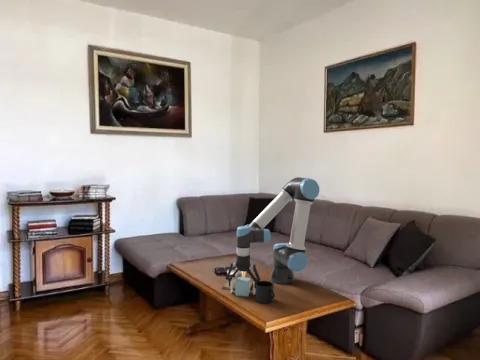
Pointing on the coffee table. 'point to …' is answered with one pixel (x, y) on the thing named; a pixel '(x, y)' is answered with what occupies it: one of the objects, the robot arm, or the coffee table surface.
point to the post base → (226, 286)
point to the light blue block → (242, 286)
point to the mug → (264, 292)
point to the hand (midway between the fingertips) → (242, 292)
